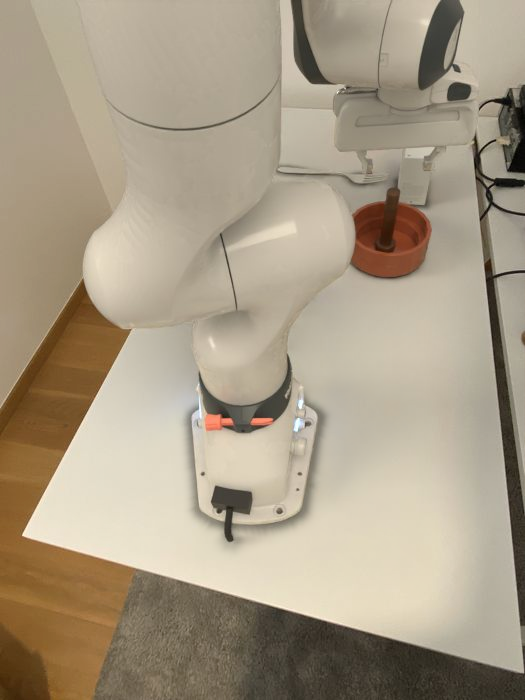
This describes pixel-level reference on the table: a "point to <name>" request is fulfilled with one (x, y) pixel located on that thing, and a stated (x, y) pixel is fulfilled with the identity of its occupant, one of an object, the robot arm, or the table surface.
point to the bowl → (407, 233)
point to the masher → (388, 222)
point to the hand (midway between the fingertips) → (397, 170)
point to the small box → (414, 176)
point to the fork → (354, 177)
